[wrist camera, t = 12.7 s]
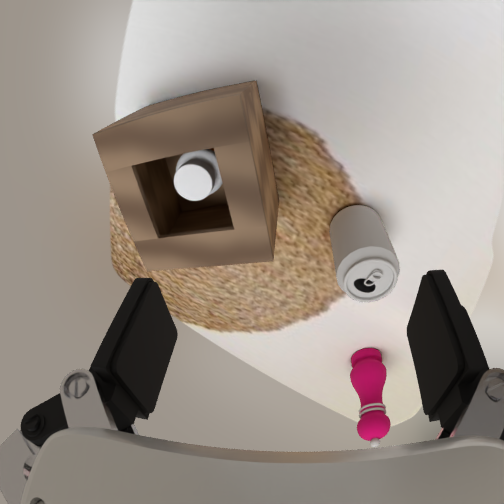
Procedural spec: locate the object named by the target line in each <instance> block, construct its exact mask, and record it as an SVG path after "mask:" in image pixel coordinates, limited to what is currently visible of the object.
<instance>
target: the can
mask: <svg viewBox="0 0 504 504" xmlns="http://www.w3.org/2000/svg"><path fill="white" fill-rule="evenodd" d="M329 232H330V238H331V244H332V251H333V257H334V264H335V271H336V277H337V282H338V285H339V286H340V288H341V289H342V290H343V291H344V292H346V294H347V295H348V296H349V297H350V298H352V299H353V300H356V301H359V302H373V301H377V300H379V299H382V298H384V297H385V296H387V295H388V294H389V293H390V292H391V291H392V290H393V289H394V287H395V285H396V283H397V278H398V274H399V271H400V268H399V261H398V259H397V256H396V254H395V251H394V249H393V246H392V244H391V241H390V239H389V237H388V234H387V232H386V229H385V227H384V225H383V223H382V220H381V218H380V217H379V215H378V213H377V212H375V211H374V210H373V209H372V208H369V207H367V206H363V205H354V206H349V207H346V208H345V209H343V210H341V211H339V212H338V213H337V214H336V215H335V217H334V218H333V220H332V222H331V224H330V231H329Z"/></svg>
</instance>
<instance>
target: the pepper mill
mask: <svg viewBox="0 0 504 504" xmlns="http://www.w3.org/2000/svg"><path fill="white" fill-rule="evenodd" d="M351 363H352V368H353V369H352V371H351V373H350V378H351V382H352V385H353V387H354V389H355V390H356V392H357V393H358V395H359V398H360V402H361V408H360V410H359V417H360V418H361V419H360V421H359V422H358V425H357V431H358V434H359V436H360V437H361V438H363V439H364V440H368V441H370V445H371V446H372V447H377V446H378V445H379V444H380V440H379V439H381V438H382V437H384V436H385V435H386V434H387V433H388V431H389V429H390V420H389V418H388V416H386V415H385V414H386V410H385V408H386V406H385V405H384V404H383V402H382V391H383V387H384V384H385V381H386V368H385V366H384V365H383V364H382V358H381V353H380V351H379V350H377V349H374V348H365V349H361V350H359V351H357V352H355V353H354V354H353V356H352V358H351Z"/></svg>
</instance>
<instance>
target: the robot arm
mask: <svg viewBox="0 0 504 504" xmlns="http://www.w3.org/2000/svg"><path fill="white" fill-rule="evenodd" d="M407 337H408V341H409V345H410V349H411V353H412V357H413V361H414V366H415V370H416V375H417V379H418V384H419V389H420V394H421V399H422V404H423V410H424V413H425V415H429V421H430V422H431V421H437V420H440V424H441V427H442V429H441V431H440V432H439V434H438V436H437V437H436V439H435V440H430V441H424V442H419V443H412V444H404V445H397V446H388V447H381V448H371V449H359V450H346V451H323V452H273V451H252V450H238V449H227V448H217V447H208V446H200V445H193V444H186V443H179V442H173V441H167V440H162V439H156V438H151V437H145V436H140V435H139V434H138V432H137V430H136V427H135V425H134V421H135V418H136V417H138V418H142V419H148V417H149V413H152V412H153V411H154V409H155V405H156V402H157V399H158V395H159V392H160V389H161V386H162V383H163V380H164V377H165V374H166V371H167V367H168V364H169V361H170V358H171V355H172V352H173V349H174V346H175V343H176V340H177V329H176V327H175V324H174V322H173V320H172V317H171V315H170V313H169V310H168V308H167V305H166V303H165V301H164V298H163V296H162V293H161V291H160V288H159V286H158V284H157V282H154V281H153V279H152V278H136V279H135V280H134V282H133V284H132V285H131V287H130V289H129V291H128V293H127V295H126V297H125V298H124V300H123V302H122V304H121V306H120V308H119V310H118V312H117V314H116V316H115V318H114V320H113V321H112V323H111V325H110V327H109V329H108V331H107V333H106V336H105V337H104V339H103V341H102V343H101V345H100V347H99V350H98V352H97V354H96V356H95V358H94V360H93V362H92V364H91V367H90V369H89V371H88V370H85V369H76V370H73V371H72V372H70V373H69V374H67V375H66V377H65V378H64V379H63V381H62V383H61V386H60V394H58V395H56V396H54V397H52V398H50V399H49V400H47V401H45V402H44V403H41V404H40V405H38V406H36V407H34V408H32V409H31V410H29V411H28V412H27V413H26V414H25V415H24V417H23V419H22V422H21V430H20V431H19V430H18V429H17V430H15V431H14V432H13V433H12V434H11V435H10V436H9V437H8V438H7V439H6V440H5V441H4V442H3V443H2V444H1V445H0V490H1V492H2V494H3V496H4V498H5V499H6V501H7V502H8V504H504V370H503V369H500V368H493V369H489V367H488V364H487V361H486V358H485V356H484V353H483V350H482V348H481V345H480V342H479V340H478V337H477V335H476V332H475V330H474V328H473V325H472V323H471V320H470V318H469V316H468V313H467V311H466V309H465V308H464V307H463V306H461V304H460V302H459V300H458V297H457V295H456V293H455V291H454V289H453V287H452V285H451V283H450V280H449V278H448V276H447V274H446V272H445V271H444V270H430V271H428V272H427V274H426V275H423V277H422V280H421V283H420V287H419V290H418V294H417V297H416V300H415V304H414V307H413V310H412V313H411V317H410V320H409V323H408V326H407Z"/></svg>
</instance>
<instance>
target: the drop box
mask: <svg viewBox="0 0 504 504" xmlns="http://www.w3.org/2000/svg"><path fill="white" fill-rule="evenodd" d="M93 138H94V141H95V143H96V146H97V149H98V152H99V155H100V158H101V161H102V163H103V166H104V169H105V171H106V174H107V177H108V180H109V182H110V185H111V188H112V190H113V193H114V195H115V198H116V200H117V203H118V205H119V208H120V210H121V213H122V215H123V218H124V220H125V222H126V225H127V227H128V230H129V232H130V234H131V237H132V239H133V241H134V243H135V246H136V248H137V250H138V252H139V255H140V257H141V259H142V261H143V263H144V266H145V268H146V270H147V271H158V270H171V269H184V268H196V267H209V266H221V265H233V264H245V263H257V262H269V261H273V258H274V248H275V238H276V227H277V217H278V206H279V198H278V192H277V187H276V181H275V175H274V170H273V164H272V159H271V153H270V148H269V142H268V137H267V132H266V127H265V121H264V116H263V111H262V106H261V101H260V96H259V91H258V86H257V81H251V82H245V83H239V84H234V85H229V86H224V87H219V88H215V89H210V90H206V91H201V92H197V93H193V94H189V95H185V96H181V97H177V98H174V99H170V100H166V101H163V102H159V103H156V104H153V105H149V106H146V107H144V108H142V109H140V110H138V111H136V112H134V113H132V114H130V115H128V116H126V117H124V118H122V119H120V120H118V121H116V122H114V123H113V124H111V125H109V126H107V127H105V128H103V129H101V130H100V131H98V132H96V133H94V134H93ZM210 148H214V151H215V155H216V159H217V163H218V167H219V171H220V175H221V179H222V183H223V184H222V185H221V187H220V188H219V189H218V190H217V191H215V192H214V193H212V194H210V195H208V196H207V197H206V198H204V199H202V200H199V201H191V200H188V199H185V198H184V197H182V196H181V195H180V194H179V193H178V192H177V190H176V189H175V186H174V176H175V173H176V166H177V162H178V160H179V158H180V157H181V156H182V154H184V153H189V152H194V151H199V150H204V149H210Z"/></svg>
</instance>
